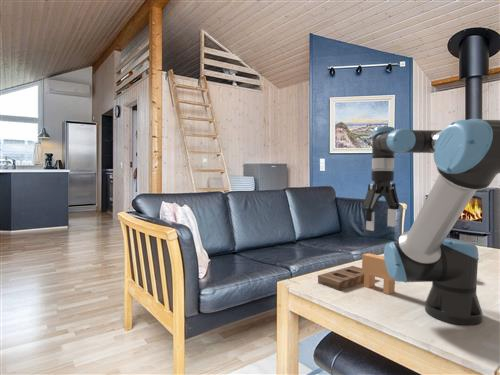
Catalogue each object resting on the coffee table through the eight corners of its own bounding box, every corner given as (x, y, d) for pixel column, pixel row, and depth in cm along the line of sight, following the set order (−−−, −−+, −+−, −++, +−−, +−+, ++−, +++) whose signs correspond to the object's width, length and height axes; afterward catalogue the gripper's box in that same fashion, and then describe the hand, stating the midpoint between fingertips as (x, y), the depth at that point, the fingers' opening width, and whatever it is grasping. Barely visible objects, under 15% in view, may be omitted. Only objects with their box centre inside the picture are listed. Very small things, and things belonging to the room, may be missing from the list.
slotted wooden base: (338, 290, 125) (339, 282, 125) (317, 282, 133) (318, 275, 133) (373, 278, 138) (373, 271, 138) (352, 272, 146) (352, 265, 146)
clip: (397, 292, 123) (398, 259, 122) (391, 295, 120) (392, 261, 120) (367, 283, 132) (368, 253, 132) (361, 285, 130) (362, 254, 129)
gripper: (391, 170, 135) (390, 223, 136) (352, 170, 120) (351, 230, 121) (410, 170, 129) (408, 226, 130) (371, 170, 114) (369, 233, 115)
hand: (380, 228), depth 125 cm, fingers open, 13 cm apart
